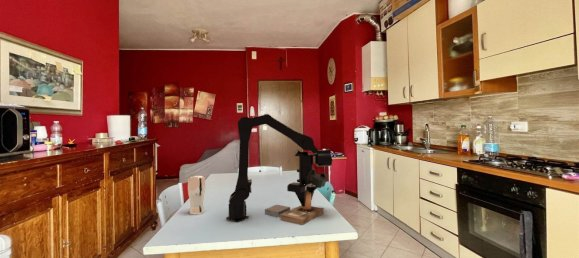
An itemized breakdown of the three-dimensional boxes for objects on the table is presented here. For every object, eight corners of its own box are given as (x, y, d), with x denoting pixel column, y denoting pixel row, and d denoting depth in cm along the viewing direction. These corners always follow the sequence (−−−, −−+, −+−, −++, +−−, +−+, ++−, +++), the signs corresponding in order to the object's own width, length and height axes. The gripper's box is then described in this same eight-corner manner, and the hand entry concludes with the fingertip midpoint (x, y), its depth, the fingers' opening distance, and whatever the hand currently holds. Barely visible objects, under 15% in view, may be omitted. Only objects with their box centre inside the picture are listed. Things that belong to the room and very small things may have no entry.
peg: (307, 209, 110) (307, 194, 110) (299, 208, 112) (299, 193, 112) (313, 207, 113) (313, 192, 113) (304, 205, 115) (304, 191, 115)
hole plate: (302, 225, 101) (302, 218, 101) (280, 219, 107) (280, 213, 107) (323, 213, 114) (323, 207, 114) (302, 209, 120) (302, 203, 120)
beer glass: (196, 216, 112) (195, 179, 112) (184, 213, 116) (183, 177, 116) (209, 211, 118) (208, 176, 118) (197, 209, 122) (197, 174, 122)
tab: (278, 217, 110) (278, 212, 110) (264, 214, 114) (264, 209, 114) (290, 211, 116) (290, 207, 116) (276, 209, 120) (276, 204, 120)
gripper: (311, 172, 100) (311, 215, 100) (334, 165, 115) (334, 202, 116) (286, 169, 107) (286, 209, 107) (311, 163, 122) (311, 199, 122)
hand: (306, 205), depth 113 cm, fingers closed on peg, 4 cm apart
